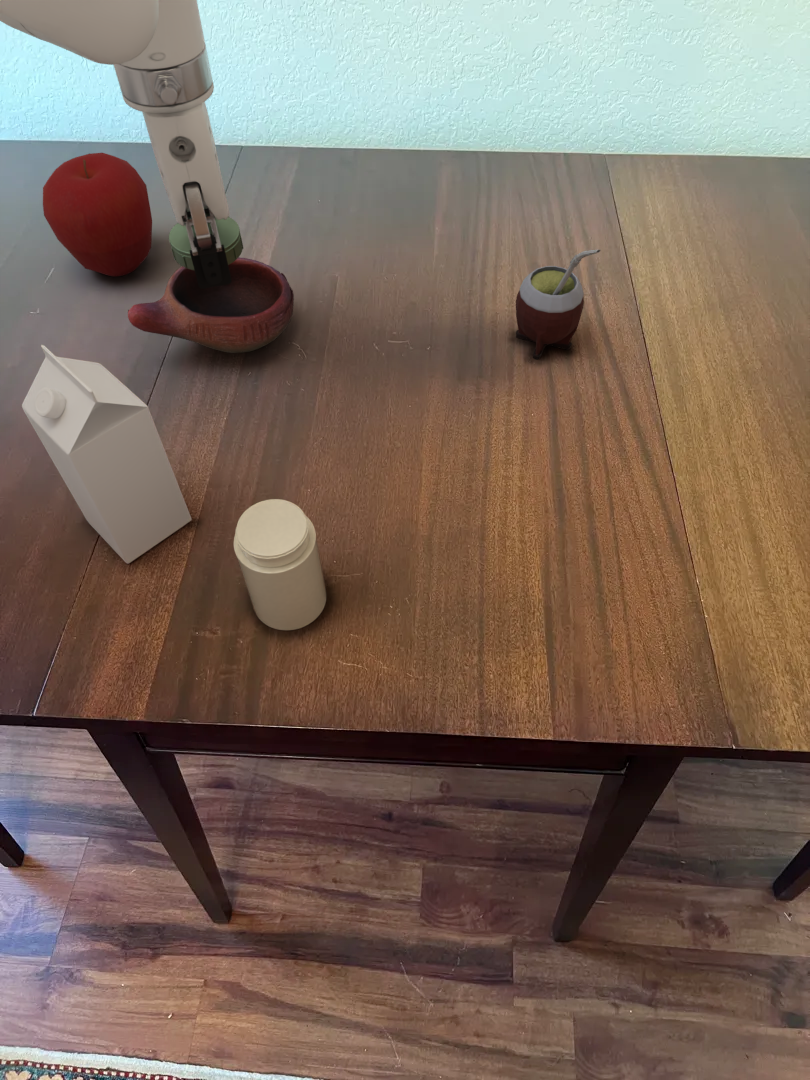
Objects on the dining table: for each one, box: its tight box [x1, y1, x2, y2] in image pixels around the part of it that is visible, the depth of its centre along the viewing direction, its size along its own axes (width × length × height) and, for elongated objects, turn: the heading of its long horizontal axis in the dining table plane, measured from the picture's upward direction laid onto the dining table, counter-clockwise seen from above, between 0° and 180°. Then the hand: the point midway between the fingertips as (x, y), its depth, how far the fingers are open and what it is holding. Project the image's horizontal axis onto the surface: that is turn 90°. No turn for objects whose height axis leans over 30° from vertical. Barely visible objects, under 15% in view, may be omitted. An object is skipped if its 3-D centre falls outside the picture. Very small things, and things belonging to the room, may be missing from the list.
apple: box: [42, 152, 153, 277], centre depth 90 cm, size 12×12×13 cm
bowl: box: [127, 256, 295, 354], centre depth 84 cm, size 16×13×8 cm
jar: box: [233, 498, 327, 631], centre depth 64 cm, size 6×6×11 cm
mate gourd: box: [515, 249, 602, 360], centre depth 81 cm, size 8×8×15 cm
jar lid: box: [168, 213, 244, 270], centre depth 77 cm, size 7×7×2 cm
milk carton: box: [21, 344, 193, 565], centre depth 65 cm, size 7×7×19 cm
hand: (209, 259), depth 78 cm, fingers open, 7 cm apart
